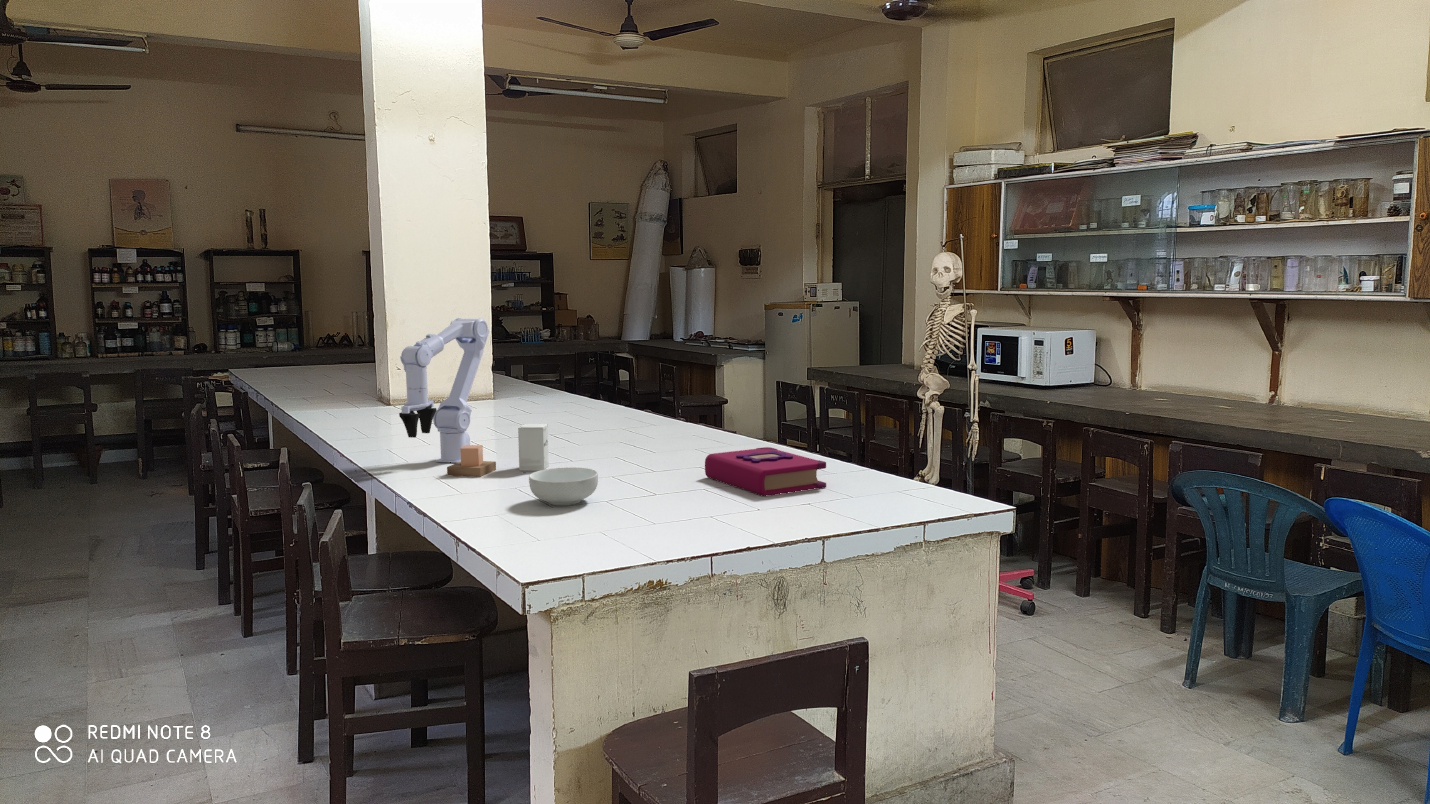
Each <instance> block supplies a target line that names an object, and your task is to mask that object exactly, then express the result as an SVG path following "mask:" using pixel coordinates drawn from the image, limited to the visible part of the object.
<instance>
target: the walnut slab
mask: <svg viewBox="0 0 1430 804" xmlns="http://www.w3.org/2000/svg"><path fill="white" fill-rule="evenodd" d="M446 470H447V471H446V475H453V476H452V477H467V478H468V477H470V478H471V477H472V478H473V477H474V478H477V477H478V478H482V477H484V476H486V475H489V474H491V473H493V472H495V471H497V461H491V460H490V461H489V460H483V463H482V464H481V465H479V466H461V462H458V463H454V464H451V465H449V466H446Z"/></svg>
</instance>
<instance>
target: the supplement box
mask: <svg viewBox="0 0 1430 804" xmlns="http://www.w3.org/2000/svg"><path fill="white" fill-rule="evenodd" d="M517 428H518V429H517V433H518V436H517V438H518V470H519V471H520V472H537V471H540V470H546V469H548V467H549V429H548V428H549V427H548V423H524V424H522V425H520V426H519V427H517Z"/></svg>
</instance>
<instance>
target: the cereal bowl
mask: <svg viewBox="0 0 1430 804" xmlns="http://www.w3.org/2000/svg"><path fill="white" fill-rule="evenodd" d="M528 483H529V489H530V491H531V493H532V494H533V496H535V497H536V498H537V499H538V500H541V501H543V502H544V501H545V502H547V504H550V505H551V506H552V505H553V506H572V505H577V504H579V503H581V502H582V500H584V499H586V498H587V499H588V497H590V496H592V495H593V493H595V491H596V489H597V487H598V483H599V475H598V471H596V470H595V469H592V468H587V467H573V466H571V467H567V466H566V467H556V468H546V469H545V470H540V471H533V472H531V473H530V474H529V476H528Z"/></svg>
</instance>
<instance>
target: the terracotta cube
mask: <svg viewBox="0 0 1430 804" xmlns="http://www.w3.org/2000/svg"><path fill="white" fill-rule="evenodd" d="M483 451H484V448H483V444H470V445H465V446H463V447H462V448H460V452H461V466H479V465H481V464H482V463H483V461H484V452H483Z"/></svg>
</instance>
